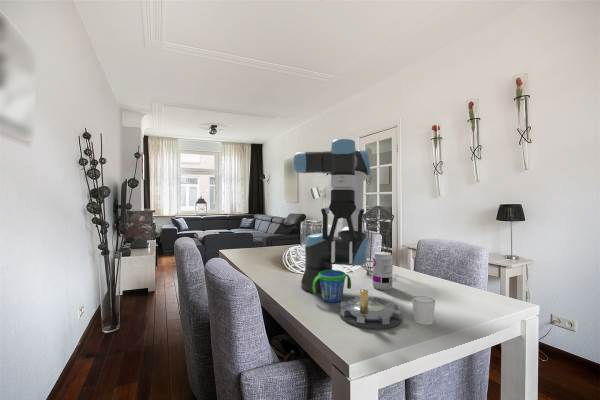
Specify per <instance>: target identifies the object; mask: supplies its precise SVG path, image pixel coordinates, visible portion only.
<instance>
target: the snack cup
mask: <svg viewBox="0 0 600 400" xmlns="http://www.w3.org/2000/svg"><path fill="white" fill-rule="evenodd" d="M346 278H347V282H346V283H347V284H346V288H347V289H348V290H351V288H352V280H351V277H350V275H349V274H347V273H346V272H344V271H342V270H337V269H332V270H324V271H321V272H319V274H318V276H316V277H315V279H314V281H313V286H312V289H313V292H312V293H314V294H316V293H317V292H316V288H315V283H316V282H317V280H318V279H319V280H320V286H321V298H322V300H323V301H325V302H328V303H337V302H342V300H343V295H344V289H345V281H346Z"/></svg>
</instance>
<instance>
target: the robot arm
mask: <svg viewBox="0 0 600 400" xmlns="http://www.w3.org/2000/svg"><path fill="white" fill-rule="evenodd" d="M330 147H331V149H330V150H329V151H327V150H326V151H325V150H324V151H299V152H296V153H295V154H294V156H293V167H294V171H295V172H296V173H297V174H298V173H299V174H326V175H330V188H331V190H330V204H329V206H328V207H323V208H321V215H322V232H320V233H319V232H318V233H313V234H310V235H307V236H306V237H305V246H304V249H305V254H304V256H305V258H304V259H305V260H304V261H305V263H304V264H305V265H304V268H305V269H304V272H303V276H302V278H301V281H300V288H301V289H302V290H304V291H306V292H310V293H314V292H313V289H312V286H313V281H314V279H315V277H316V276H318V274H319V272H321V271H324V270H333V265H340V266H353V267H356V266H357V267H362V265H363V266H365V262H366V258H367V259H368V252H369V244H370V239H368V237H367V238H366V233H364V230H363V222H362V218H363V214H365V209H364V182H365V181H366V180H368V179H367V178H368V176H370V175H371V166H370V162H371V161H370V155H369V151H367V150H366V149H363V150H359V149H357V150H356V141H355V140H354V139H349V138H339V139H338V138H337V139H334V140H332V142H331V146H330ZM330 212H331V213H332V215H333V218H332V223H331V228H330V231H329V232H328V229H329V228H328V227H329V225H328V222H329V221H328V220H329V215H328V214H330ZM339 219H342V224H341V229H340V230H339V231H338V234H337V235H338V236H335V233H336V229H337V225H338V222H339ZM315 288H316V293H321V286H320V280H319V279H318V280H317V282H316V283H315ZM321 294H322V293H321Z"/></svg>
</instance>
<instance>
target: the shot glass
mask: <svg viewBox="0 0 600 400" xmlns="http://www.w3.org/2000/svg"><path fill="white" fill-rule="evenodd" d="M412 310H413V320H414V322H415V323H418V324H420V325H426V326H427V325H429V326H430V325H432V324H433V323H434V318H435V317H434V316H435V311H436V300H435V299H434V298H432V297H429V296H424V295H423V296H422V295H417V296H416V295H415V296H413V297H412Z"/></svg>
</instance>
